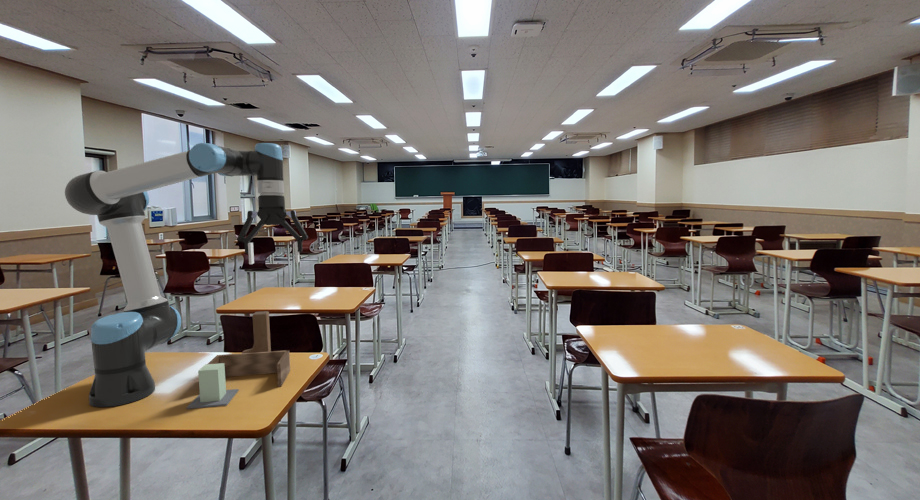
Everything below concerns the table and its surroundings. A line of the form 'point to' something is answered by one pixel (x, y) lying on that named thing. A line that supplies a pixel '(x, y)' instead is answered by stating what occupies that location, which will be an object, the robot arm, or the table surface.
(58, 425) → the table surface
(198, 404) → the mat
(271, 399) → the table surface
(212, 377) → the block
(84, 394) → the table surface
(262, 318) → the wooden block
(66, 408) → the table surface
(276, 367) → the cubby
